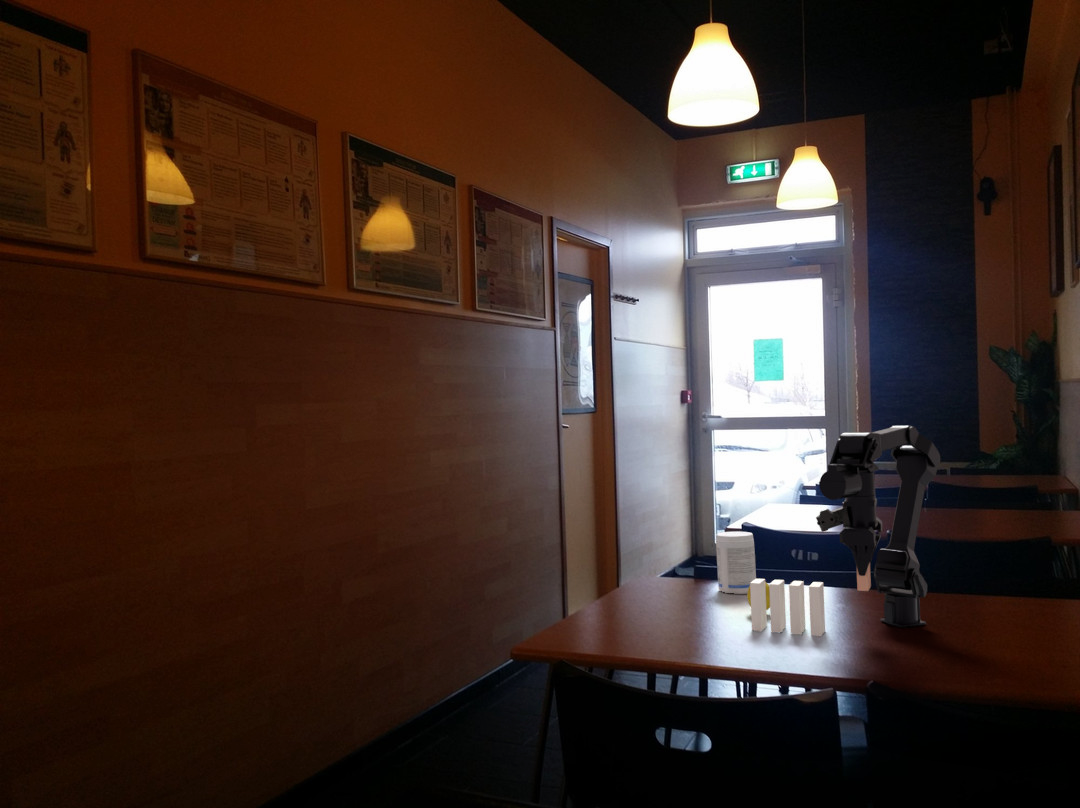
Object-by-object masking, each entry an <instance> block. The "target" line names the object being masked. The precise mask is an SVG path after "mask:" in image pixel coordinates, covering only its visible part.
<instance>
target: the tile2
mask: <svg viewBox="0 0 1080 808" xmlns="http://www.w3.org/2000/svg"><path fill="white" fill-rule="evenodd" d="M824 590H825V589H824V582H822V581H813V582H812V583H811V584H810V585H808V595H809V621H810V624H809V625H810V636H811V635H816V636H815V637H820V636H821V635H822V634H824V633H825V632H826V614H825V592H824ZM824 631H825V632H824ZM822 636H823V635H822ZM822 636H821V637H822Z"/></svg>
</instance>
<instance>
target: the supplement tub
mask: <svg viewBox="0 0 1080 808" xmlns="http://www.w3.org/2000/svg"><path fill="white" fill-rule="evenodd" d="M754 539H755V538H754V535H753V533H752V532H748V531H723V532H718V533H716V535H715V549H716V565H717V566H716V567H717V581H718V582H717V584H718V585H717V586H718V590H719V591H720V592H721V591H722V592H721V593H723V592H725V593H724V594H727V593H734V594H733V595H747V593H748V588H749V586H750V583H751V582H752V581H753V580H755V579H757V572H756V554H755V550H756V549H755V541H754Z"/></svg>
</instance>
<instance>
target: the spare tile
mask: <svg viewBox="0 0 1080 808" xmlns="http://www.w3.org/2000/svg"><path fill="white" fill-rule="evenodd" d="M855 566H856V565H855ZM855 568H856V583H857V585H856V587H857V589H856V590H857V591H860V592H861V591H863V592H869V590H870V589H871V587H872V583H871V582H872V581H871V563H869V566H868V569H867V571H866V574H865V576H860V575H859V573H858V569H857V566H856V567H855Z"/></svg>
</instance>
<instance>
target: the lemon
mask: <svg viewBox="0 0 1080 808" xmlns="http://www.w3.org/2000/svg"><path fill="white" fill-rule="evenodd" d="M765 587H766V611H768V610H770V590H769V583H767V582H766V581H765ZM746 595H747V601H748V602H747V603H748V604H749V607H750V608H751V594H750V586H749V588H748V593H747V594H746Z"/></svg>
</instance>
